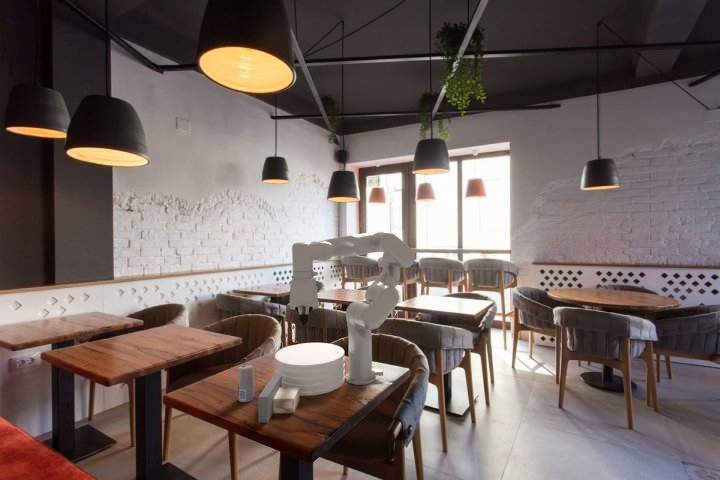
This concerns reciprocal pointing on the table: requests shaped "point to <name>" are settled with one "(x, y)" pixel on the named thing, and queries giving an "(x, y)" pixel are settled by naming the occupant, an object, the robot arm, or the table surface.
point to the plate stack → (311, 367)
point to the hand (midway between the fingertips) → (304, 324)
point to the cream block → (286, 400)
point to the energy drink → (245, 383)
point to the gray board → (268, 398)
